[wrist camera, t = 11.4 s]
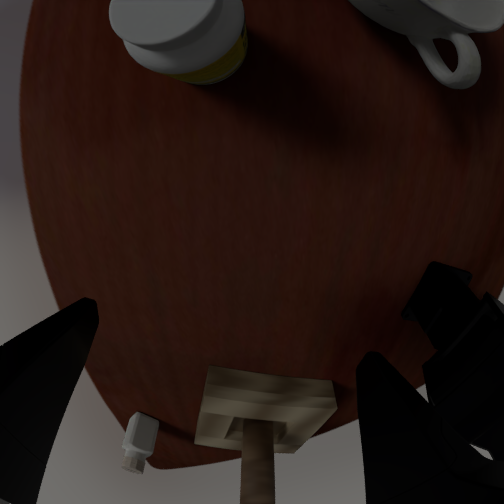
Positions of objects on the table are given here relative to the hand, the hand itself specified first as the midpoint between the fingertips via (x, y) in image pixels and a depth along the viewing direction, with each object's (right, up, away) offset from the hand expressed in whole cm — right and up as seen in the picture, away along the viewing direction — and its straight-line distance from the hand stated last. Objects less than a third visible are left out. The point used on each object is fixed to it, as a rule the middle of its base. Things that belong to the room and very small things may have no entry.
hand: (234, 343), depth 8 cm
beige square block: (+1, -17, +24) cm, 29 cm away
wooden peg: (+1, -18, +22) cm, 28 cm away
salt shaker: (-16, -23, +28) cm, 39 cm away
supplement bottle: (-2, +16, +6) cm, 17 cm away
